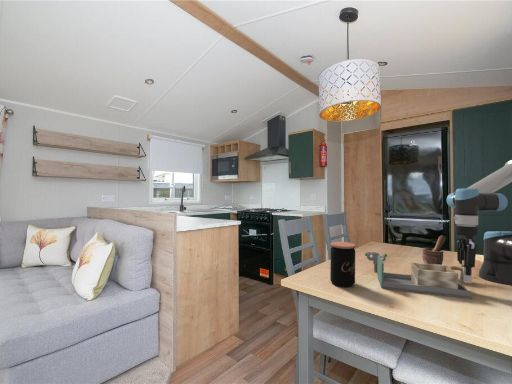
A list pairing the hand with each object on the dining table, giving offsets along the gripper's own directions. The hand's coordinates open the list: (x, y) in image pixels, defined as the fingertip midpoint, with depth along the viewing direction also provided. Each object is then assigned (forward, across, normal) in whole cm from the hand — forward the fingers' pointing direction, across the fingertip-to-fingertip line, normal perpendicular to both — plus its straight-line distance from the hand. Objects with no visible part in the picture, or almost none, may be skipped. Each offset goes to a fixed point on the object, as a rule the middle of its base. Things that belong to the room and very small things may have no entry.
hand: (465, 281), depth 108 cm
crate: (+4, 0, -9) cm, 9 cm away
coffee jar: (+5, +8, -49) cm, 50 cm away
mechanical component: (+5, -16, -33) cm, 36 cm away
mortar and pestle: (+5, -20, -6) cm, 22 cm away
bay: (+5, 0, -17) cm, 17 cm away
